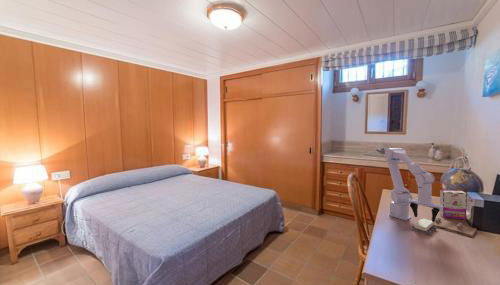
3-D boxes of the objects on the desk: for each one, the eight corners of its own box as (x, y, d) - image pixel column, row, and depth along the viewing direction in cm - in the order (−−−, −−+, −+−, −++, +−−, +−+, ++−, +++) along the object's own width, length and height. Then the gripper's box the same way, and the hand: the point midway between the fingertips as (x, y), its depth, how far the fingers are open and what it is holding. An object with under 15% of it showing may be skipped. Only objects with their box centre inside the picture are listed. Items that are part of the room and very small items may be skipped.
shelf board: (426, 231, 109) (426, 227, 109) (414, 227, 113) (414, 224, 113) (433, 224, 115) (433, 221, 115) (422, 221, 119) (422, 218, 119)
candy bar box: (462, 216, 128) (462, 190, 127) (466, 220, 123) (467, 193, 122) (439, 214, 132) (439, 189, 131) (443, 217, 128) (443, 191, 127)
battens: (412, 229, 115) (412, 226, 115) (418, 224, 120) (418, 221, 120) (430, 235, 108) (430, 231, 108) (436, 229, 114) (436, 226, 113)
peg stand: (422, 223, 121) (423, 218, 121) (429, 218, 127) (429, 213, 127) (472, 237, 105) (472, 231, 105) (476, 230, 111) (476, 225, 111)
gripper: (406, 193, 117) (406, 216, 117) (439, 199, 105) (439, 225, 105) (410, 190, 121) (410, 213, 121) (444, 196, 109) (443, 221, 109)
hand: (424, 218), depth 114 cm, fingers open, 7 cm apart
